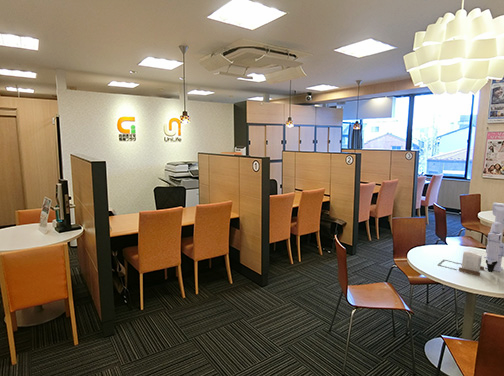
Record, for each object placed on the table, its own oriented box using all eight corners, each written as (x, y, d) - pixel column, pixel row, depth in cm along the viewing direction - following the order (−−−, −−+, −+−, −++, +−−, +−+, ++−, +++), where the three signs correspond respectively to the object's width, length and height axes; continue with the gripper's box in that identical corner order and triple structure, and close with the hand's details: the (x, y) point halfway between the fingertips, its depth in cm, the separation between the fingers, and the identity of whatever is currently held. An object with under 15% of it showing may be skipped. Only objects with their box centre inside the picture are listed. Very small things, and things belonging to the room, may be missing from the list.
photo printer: (481, 272, 199) (483, 253, 197) (477, 273, 197) (480, 255, 195) (463, 266, 208) (465, 249, 206) (460, 267, 205) (462, 250, 204)
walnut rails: (464, 264, 211) (464, 262, 210) (483, 269, 203) (484, 266, 202) (458, 270, 201) (459, 267, 201) (479, 275, 193) (479, 272, 193)
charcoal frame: (443, 259, 220) (443, 259, 220) (462, 264, 211) (462, 264, 211) (437, 265, 210) (437, 264, 210) (456, 270, 201) (456, 269, 201)
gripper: (487, 247, 200) (484, 266, 202) (482, 252, 190) (480, 273, 192) (500, 249, 195) (498, 270, 197) (497, 255, 185) (494, 276, 187)
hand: (490, 271), depth 194 cm, fingers closed
